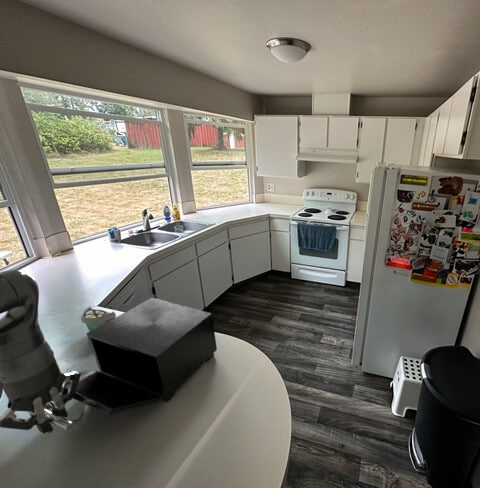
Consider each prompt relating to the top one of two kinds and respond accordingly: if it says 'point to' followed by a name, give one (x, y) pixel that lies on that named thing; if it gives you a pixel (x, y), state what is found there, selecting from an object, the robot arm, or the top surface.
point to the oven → (154, 345)
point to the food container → (95, 318)
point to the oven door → (102, 398)
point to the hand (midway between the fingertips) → (55, 425)
